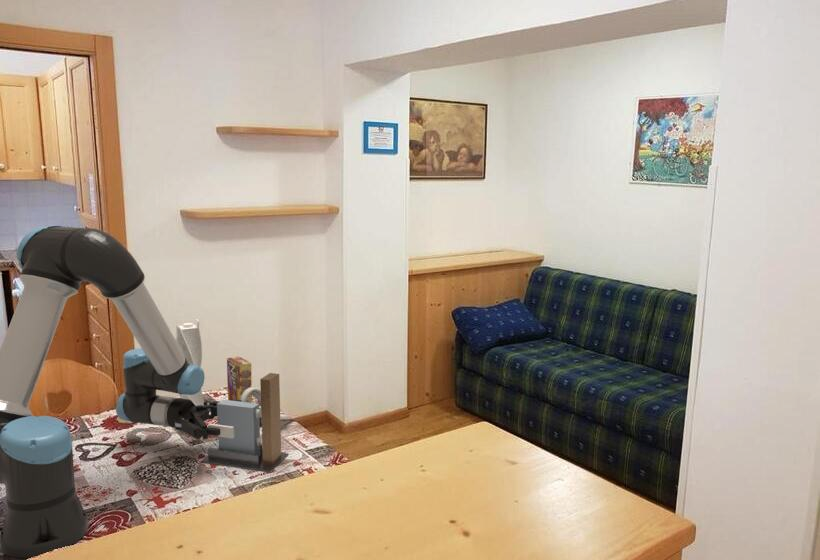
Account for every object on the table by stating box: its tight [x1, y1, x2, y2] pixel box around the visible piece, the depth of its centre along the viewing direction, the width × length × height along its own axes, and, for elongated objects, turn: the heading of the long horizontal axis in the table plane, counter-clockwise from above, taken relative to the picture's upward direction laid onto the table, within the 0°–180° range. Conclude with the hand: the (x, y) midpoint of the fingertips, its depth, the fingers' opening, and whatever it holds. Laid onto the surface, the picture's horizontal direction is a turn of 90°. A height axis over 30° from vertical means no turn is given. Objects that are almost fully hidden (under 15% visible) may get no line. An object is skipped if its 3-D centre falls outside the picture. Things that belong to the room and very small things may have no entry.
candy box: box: [226, 356, 253, 403], centre depth 194 cm, size 9×4×15 cm, turn 39°
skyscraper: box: [175, 318, 205, 406], centre depth 193 cm, size 8×8×28 cm
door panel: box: [216, 399, 262, 456], centre depth 161 cm, size 3×11×14 cm, turn 75°
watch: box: [240, 386, 262, 428], centre depth 183 cm, size 6×8×11 cm
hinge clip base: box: [200, 372, 289, 473], centre depth 160 cm, size 10×19×22 cm, turn 75°
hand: (248, 421), depth 160 cm, fingers open, 13 cm apart
